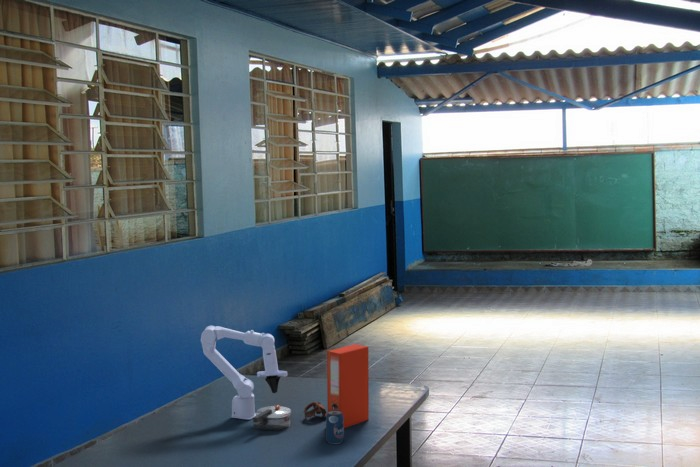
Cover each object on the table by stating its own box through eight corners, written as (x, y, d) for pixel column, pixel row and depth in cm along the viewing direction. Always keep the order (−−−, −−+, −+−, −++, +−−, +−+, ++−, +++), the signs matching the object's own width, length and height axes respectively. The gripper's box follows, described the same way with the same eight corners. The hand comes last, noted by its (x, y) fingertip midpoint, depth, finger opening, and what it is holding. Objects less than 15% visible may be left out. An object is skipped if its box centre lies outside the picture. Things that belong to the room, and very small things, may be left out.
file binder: (369, 419, 360) (368, 346, 358) (341, 429, 348) (340, 353, 345) (355, 416, 366) (354, 343, 363) (327, 425, 353) (326, 350, 350)
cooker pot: (271, 416, 366) (270, 405, 366) (299, 420, 361) (299, 409, 360) (241, 433, 344) (241, 421, 344) (271, 437, 338) (270, 425, 338)
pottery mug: (328, 422, 359) (319, 407, 356) (309, 431, 360) (300, 416, 358) (330, 407, 370) (321, 393, 368) (312, 416, 372) (302, 401, 369)
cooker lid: (266, 406, 364) (266, 401, 364) (297, 410, 358) (297, 404, 358) (239, 421, 343) (239, 415, 343) (271, 425, 337) (271, 419, 337)
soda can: (337, 445, 328) (337, 415, 327) (323, 442, 332) (322, 413, 331) (347, 440, 334) (346, 411, 333) (332, 437, 338) (332, 408, 337)
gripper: (251, 364, 365) (256, 395, 366) (280, 364, 358) (284, 395, 360) (260, 360, 371) (264, 390, 372) (288, 360, 365) (292, 390, 366)
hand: (274, 392), depth 366 cm, fingers closed
